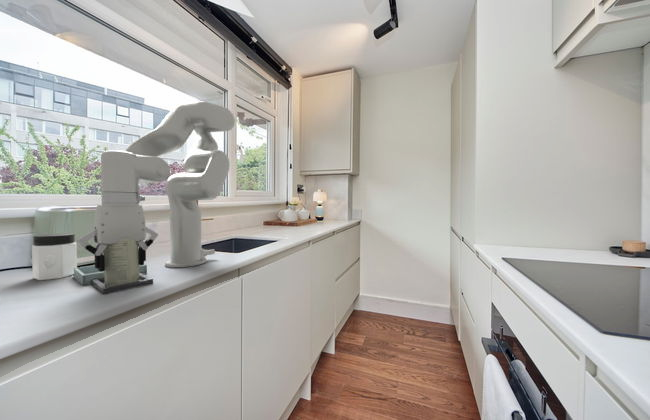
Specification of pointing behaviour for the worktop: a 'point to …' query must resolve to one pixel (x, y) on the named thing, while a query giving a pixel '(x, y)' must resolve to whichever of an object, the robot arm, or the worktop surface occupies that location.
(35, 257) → the jar
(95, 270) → the tray
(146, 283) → the dark grey rectangular frame
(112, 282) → the skincare box
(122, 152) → the robot arm
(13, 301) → the worktop surface
